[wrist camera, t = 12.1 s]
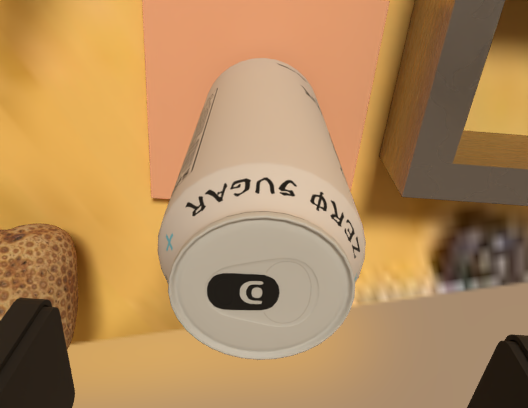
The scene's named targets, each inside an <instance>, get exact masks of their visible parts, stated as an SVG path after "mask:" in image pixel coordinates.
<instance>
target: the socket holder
mask: <svg viewBox="0 0 528 408" xmlns="http://www.w3.org/2000/svg"><path fill="white" fill-rule="evenodd" d="M504 2H505V0H415V4H414V8H413V12H412V17H411V21H410V25H409V30H408V34H407V38H406V43H405V47H404V51H403V55H402V60H401V64H400V68H399V73H398V77H397V81H396V86H395V90H394V94H393V99H392V103H391V107H390V112H389V116H388V120H387V125H386V129H385V133H384V138H383V142H382V146H381V151H380V155H379V157H380V159H381V161H382V162H383V164H384V166H385V168H386V169H387V171H388V173H389V175H390V176H391V178H392V180H393V182H394V184H395V185H396V187H397V189H398V191H399V192H400V194H401V196H402V197H411V198H425V199H439V200H453V201H467V202H481V203H495V204H508V205H522V206H528V136H523V135H511V134H498V133H485V132H473V131H463V129H464V126H465V123H466V120H467V117H468V114H469V111H470V108H471V105H472V102H473V98H474V95H475V92H476V89H477V86H478V83H479V80H480V77H481V74H482V71H483V67H484V64H485V61H486V58H487V55H488V52H489V49H490V46H491V43H492V40H493V36H494V33H495V30H496V27H497V24H498V21H499V18H500V15H501V12H502V9H503V6H504Z"/></svg>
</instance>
